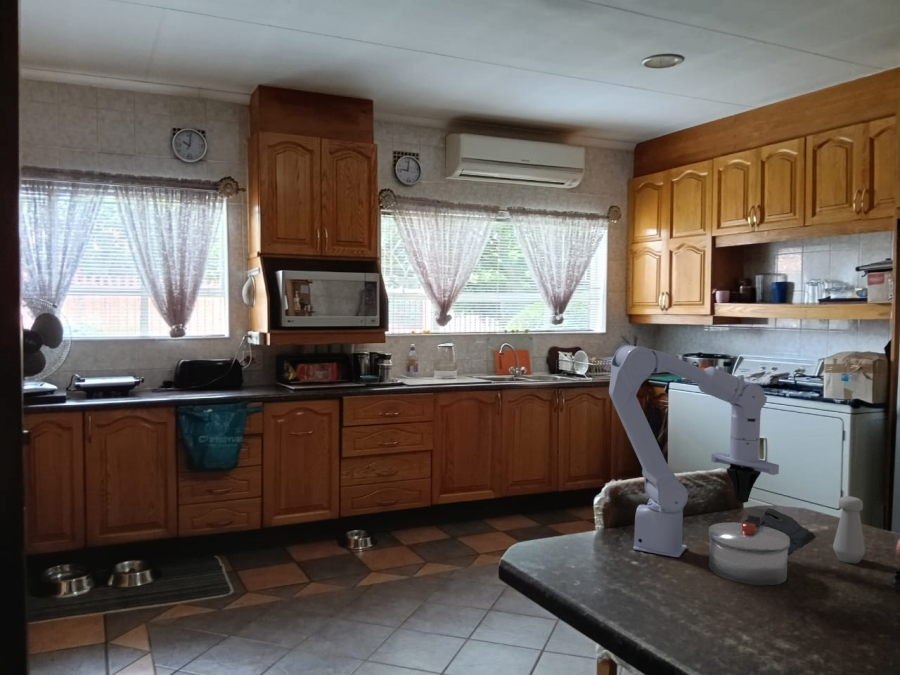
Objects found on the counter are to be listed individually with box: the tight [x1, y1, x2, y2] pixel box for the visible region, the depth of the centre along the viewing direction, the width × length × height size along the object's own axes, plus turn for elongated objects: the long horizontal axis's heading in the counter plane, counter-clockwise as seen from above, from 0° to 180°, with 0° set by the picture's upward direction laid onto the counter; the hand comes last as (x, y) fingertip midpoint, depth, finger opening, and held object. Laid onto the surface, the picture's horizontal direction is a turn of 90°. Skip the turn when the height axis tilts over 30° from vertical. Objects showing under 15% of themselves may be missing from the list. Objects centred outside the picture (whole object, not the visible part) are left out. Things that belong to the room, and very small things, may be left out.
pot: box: [708, 538, 789, 586], centre depth 142 cm, size 20×14×6 cm
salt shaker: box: [832, 495, 866, 564], centre depth 148 cm, size 6×6×13 cm
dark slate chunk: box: [742, 508, 815, 556], centre depth 162 cm, size 15×22×5 cm
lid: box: [708, 507, 790, 552], centre depth 142 cm, size 20×15×3 cm
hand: (742, 501), depth 152 cm, fingers closed
